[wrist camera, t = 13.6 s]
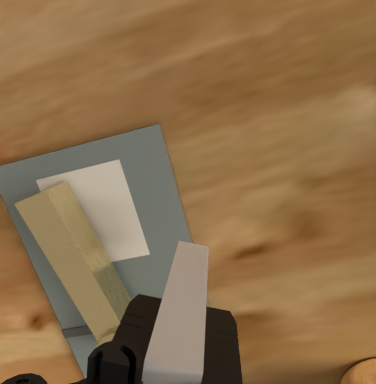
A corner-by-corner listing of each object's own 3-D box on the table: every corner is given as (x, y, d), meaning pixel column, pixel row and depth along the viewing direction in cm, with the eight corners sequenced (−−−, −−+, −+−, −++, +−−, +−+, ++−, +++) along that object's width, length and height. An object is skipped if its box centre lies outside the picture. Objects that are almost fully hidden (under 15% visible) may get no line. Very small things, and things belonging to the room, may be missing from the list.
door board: (160, 123, 17) (156, 124, 16) (242, 424, 25) (243, 440, 23) (1, 165, 19) (-13, 169, 18) (121, 436, 26) (117, 452, 25)
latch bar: (121, 350, 21) (104, 397, 18) (30, 195, 18) (-13, 215, 14) (162, 339, 20) (153, 384, 17) (76, 176, 17) (43, 192, 14)
